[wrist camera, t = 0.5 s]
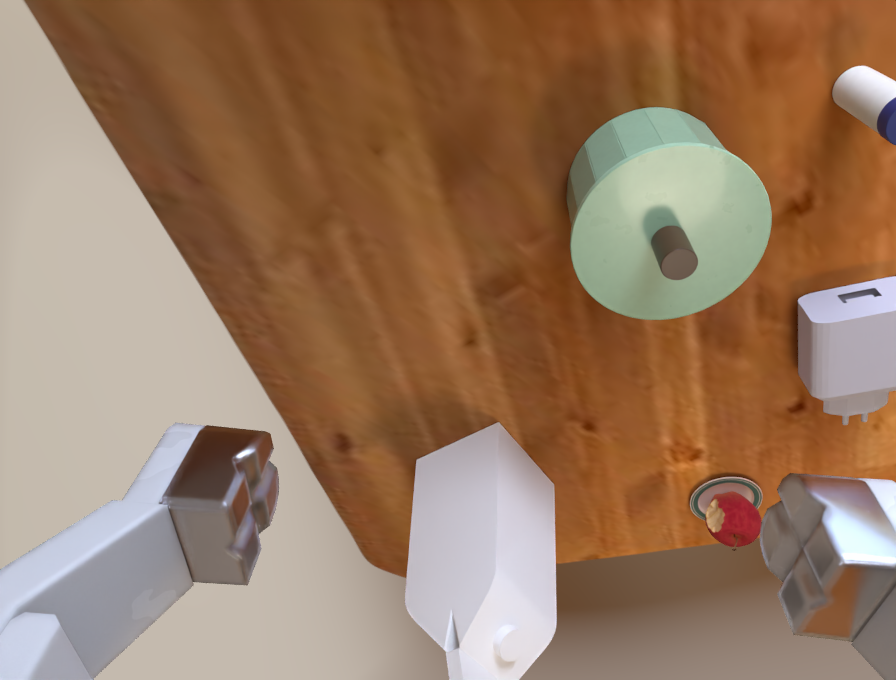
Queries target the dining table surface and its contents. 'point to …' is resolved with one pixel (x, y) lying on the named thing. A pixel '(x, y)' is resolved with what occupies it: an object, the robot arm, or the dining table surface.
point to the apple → (729, 509)
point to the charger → (849, 346)
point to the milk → (483, 555)
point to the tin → (630, 145)
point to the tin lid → (670, 231)
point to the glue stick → (868, 99)
